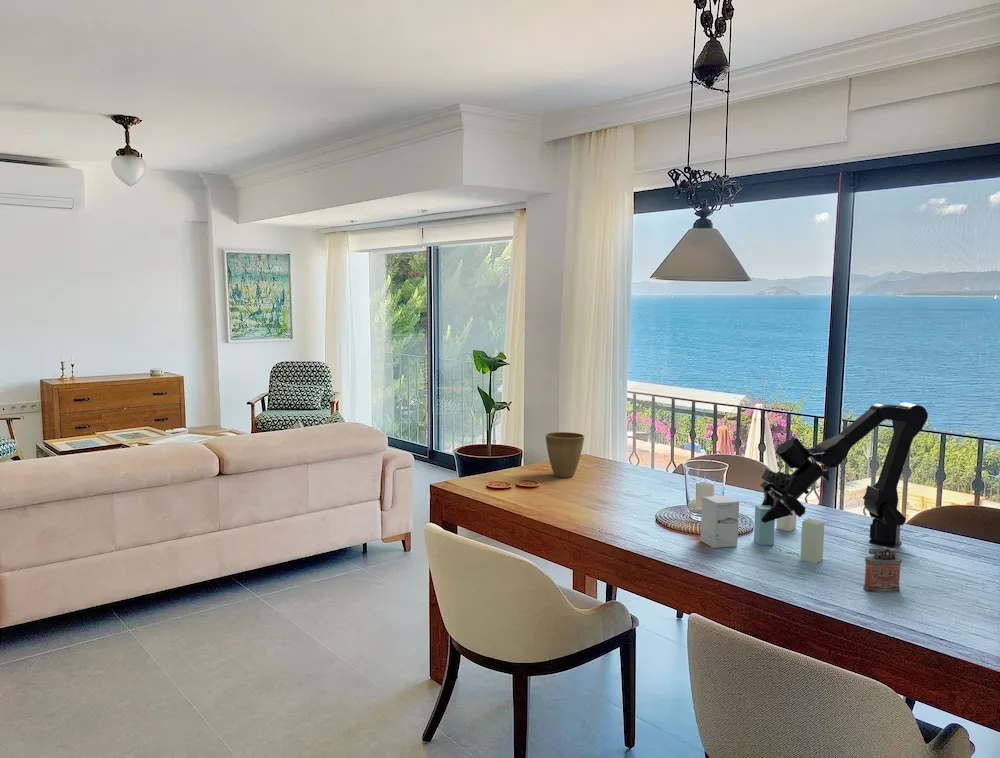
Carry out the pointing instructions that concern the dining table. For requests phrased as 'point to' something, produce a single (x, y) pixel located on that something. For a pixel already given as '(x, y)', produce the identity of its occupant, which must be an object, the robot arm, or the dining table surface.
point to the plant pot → (564, 452)
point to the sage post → (812, 540)
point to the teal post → (763, 526)
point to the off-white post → (787, 522)
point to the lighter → (882, 571)
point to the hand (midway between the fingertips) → (759, 519)
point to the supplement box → (719, 521)
